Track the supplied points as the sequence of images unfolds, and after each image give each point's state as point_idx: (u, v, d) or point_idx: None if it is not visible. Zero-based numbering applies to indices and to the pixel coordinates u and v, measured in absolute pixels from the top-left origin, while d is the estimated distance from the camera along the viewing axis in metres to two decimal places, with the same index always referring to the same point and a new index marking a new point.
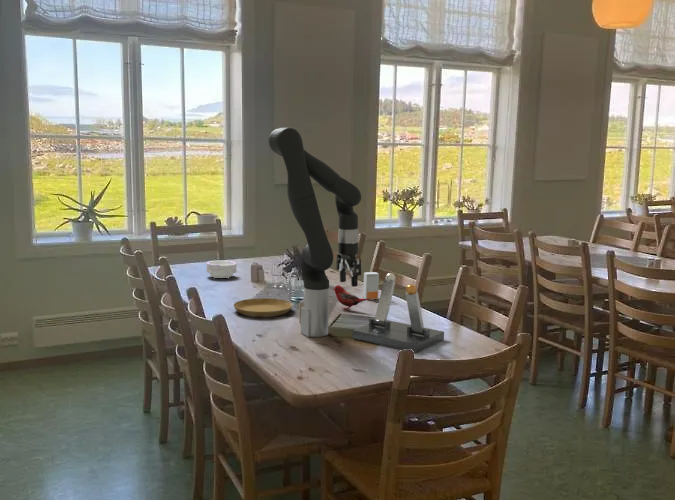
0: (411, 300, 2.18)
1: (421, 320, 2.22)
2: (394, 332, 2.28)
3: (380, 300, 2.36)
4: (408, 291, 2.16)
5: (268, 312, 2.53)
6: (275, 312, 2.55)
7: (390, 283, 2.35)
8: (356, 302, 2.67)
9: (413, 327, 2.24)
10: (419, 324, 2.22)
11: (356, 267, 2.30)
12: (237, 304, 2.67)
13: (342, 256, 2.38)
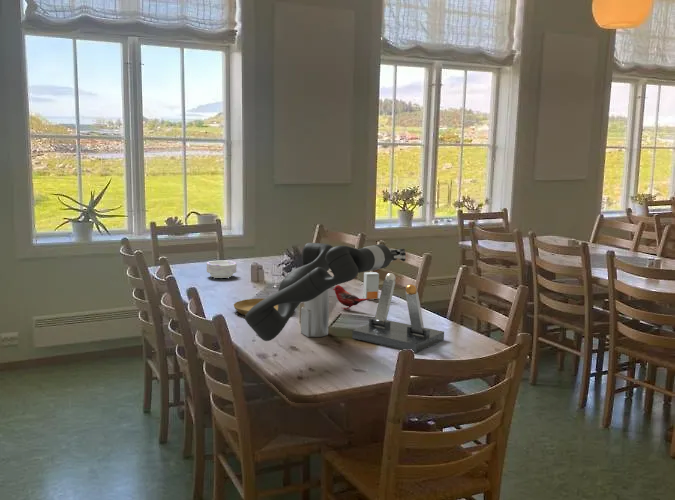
0: (411, 300, 2.18)
1: (421, 320, 2.22)
2: (394, 332, 2.28)
3: (380, 300, 2.36)
4: (408, 291, 2.16)
5: None
6: None
7: (390, 283, 2.35)
8: (356, 302, 2.67)
9: (413, 327, 2.24)
10: (419, 324, 2.22)
11: None
12: (237, 304, 2.67)
13: None
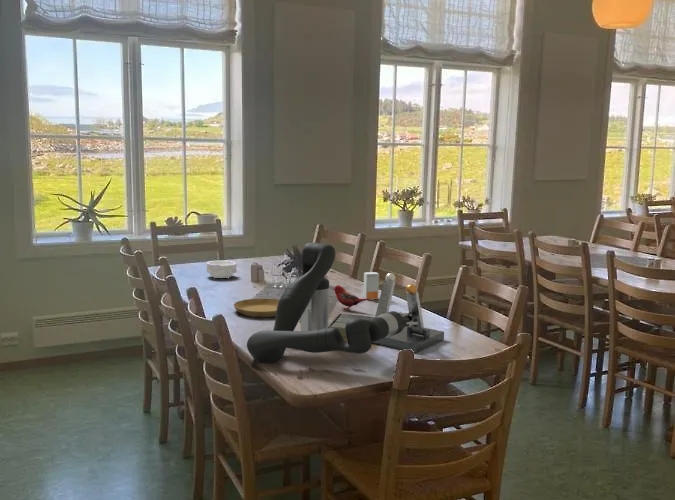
0: (411, 300, 2.19)
1: (421, 320, 2.22)
2: None
3: (380, 300, 2.36)
4: (408, 291, 2.16)
5: (268, 312, 2.53)
6: (275, 312, 2.55)
7: (390, 283, 2.35)
8: (356, 302, 2.67)
9: (413, 327, 2.24)
10: (419, 324, 2.22)
11: None
12: (237, 304, 2.67)
13: None
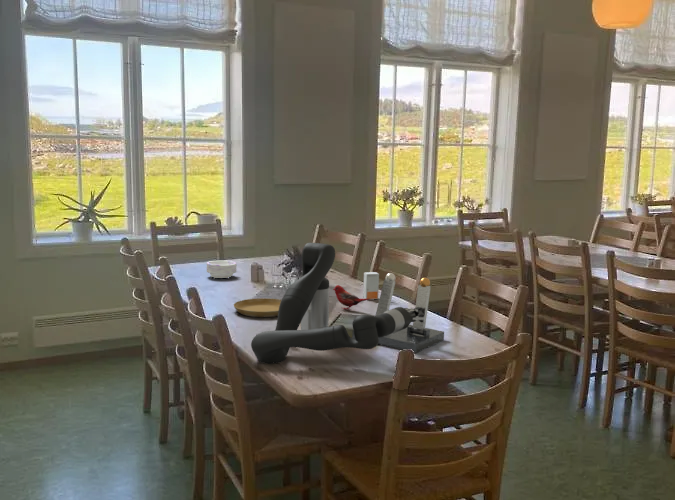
0: (422, 293, 2.24)
1: (425, 318, 2.24)
2: None
3: (380, 300, 2.36)
4: (422, 281, 2.23)
5: (268, 312, 2.53)
6: (275, 312, 2.55)
7: (390, 283, 2.35)
8: (356, 302, 2.67)
9: (414, 326, 2.25)
10: None
11: None
12: (237, 304, 2.67)
13: None
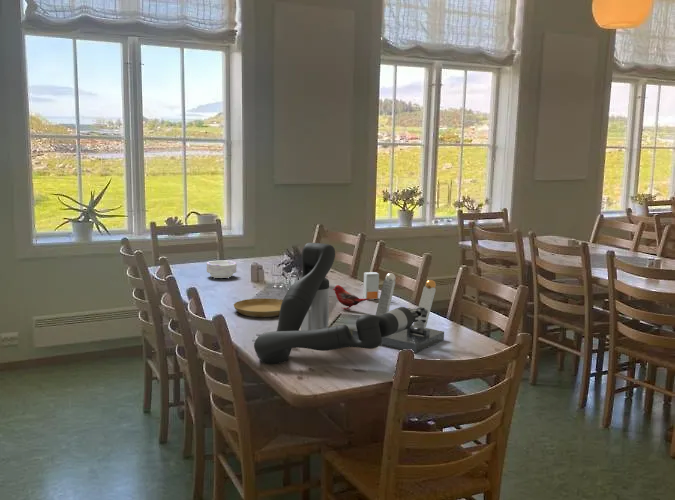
0: (426, 294, 2.27)
1: (427, 318, 2.25)
2: None
3: (380, 300, 2.36)
4: (429, 282, 2.27)
5: (268, 312, 2.53)
6: (275, 312, 2.55)
7: (390, 283, 2.35)
8: (356, 302, 2.67)
9: (414, 325, 2.25)
10: None
11: None
12: (237, 304, 2.67)
13: None
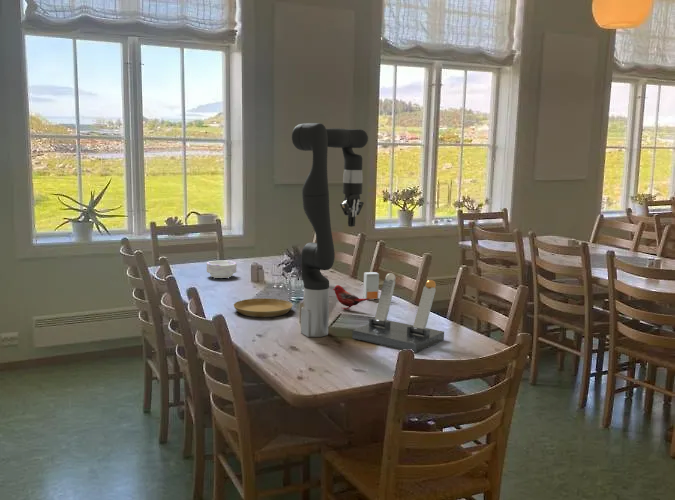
0: (426, 294, 2.27)
1: (427, 318, 2.25)
2: (394, 332, 2.28)
3: (380, 300, 2.36)
4: (429, 282, 2.27)
5: (268, 312, 2.53)
6: (275, 312, 2.55)
7: (390, 283, 2.35)
8: (356, 302, 2.67)
9: (414, 325, 2.25)
10: (423, 321, 2.24)
11: None
12: (237, 304, 2.67)
13: (350, 197, 2.46)
